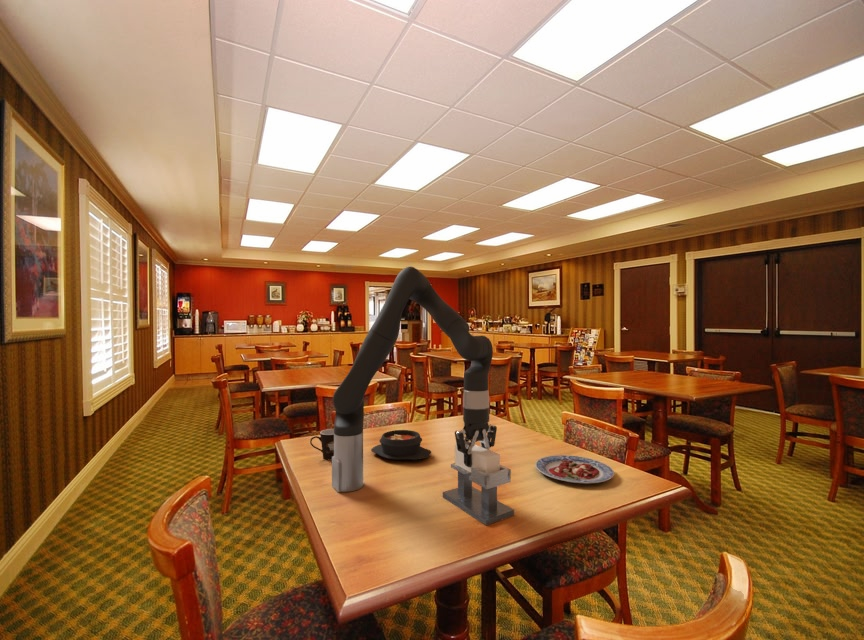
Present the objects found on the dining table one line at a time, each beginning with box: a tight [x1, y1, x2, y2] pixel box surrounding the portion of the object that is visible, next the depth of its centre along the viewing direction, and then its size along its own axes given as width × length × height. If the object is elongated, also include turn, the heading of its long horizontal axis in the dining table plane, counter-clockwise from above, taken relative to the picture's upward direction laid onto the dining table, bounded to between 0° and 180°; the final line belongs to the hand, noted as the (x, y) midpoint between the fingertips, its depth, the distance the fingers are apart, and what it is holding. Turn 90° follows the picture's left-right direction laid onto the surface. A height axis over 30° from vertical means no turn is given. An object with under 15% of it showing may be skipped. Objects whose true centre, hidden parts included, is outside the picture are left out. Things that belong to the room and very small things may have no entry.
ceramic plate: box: [535, 454, 615, 484], centre depth 137 cm, size 26×26×3 cm
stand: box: [442, 462, 515, 526], centre depth 113 cm, size 10×20×12 cm, turn 32°
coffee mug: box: [309, 428, 334, 461], centre depth 154 cm, size 12×9×10 cm
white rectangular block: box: [454, 443, 501, 474], centre depth 113 cm, size 5×14×6 cm, turn 33°
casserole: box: [370, 429, 432, 461], centre depth 156 cm, size 25×19×8 cm
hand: (476, 464), depth 113 cm, fingers open, 5 cm apart
